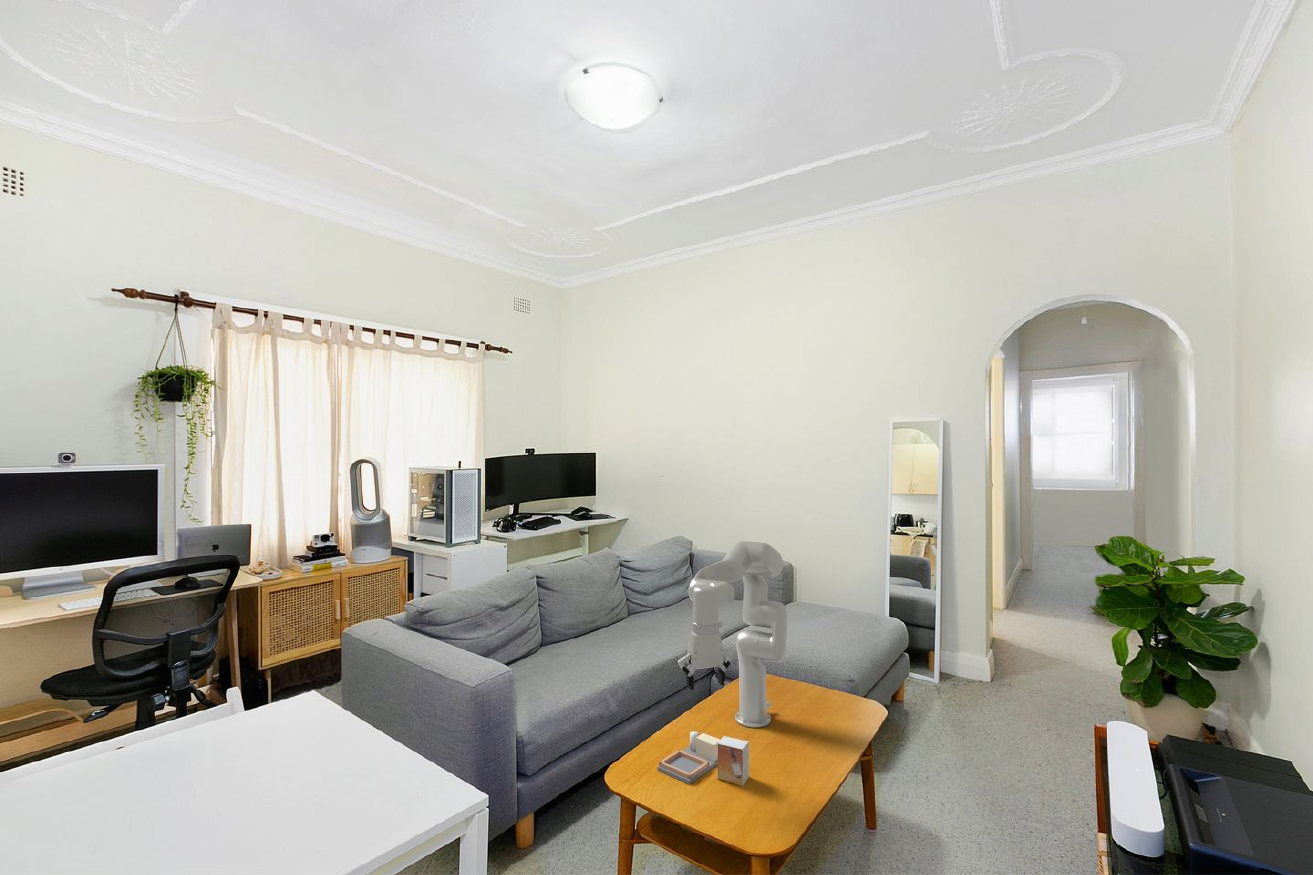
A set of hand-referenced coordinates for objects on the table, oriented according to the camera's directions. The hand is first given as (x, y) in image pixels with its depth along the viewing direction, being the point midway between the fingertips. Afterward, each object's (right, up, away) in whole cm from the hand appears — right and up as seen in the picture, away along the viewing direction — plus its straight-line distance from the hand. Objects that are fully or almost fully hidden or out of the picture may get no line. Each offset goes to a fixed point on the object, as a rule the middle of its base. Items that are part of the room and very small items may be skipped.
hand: (705, 686), depth 175 cm
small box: (+8, -27, -2) cm, 28 cm away
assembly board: (-4, -27, +6) cm, 28 cm away
